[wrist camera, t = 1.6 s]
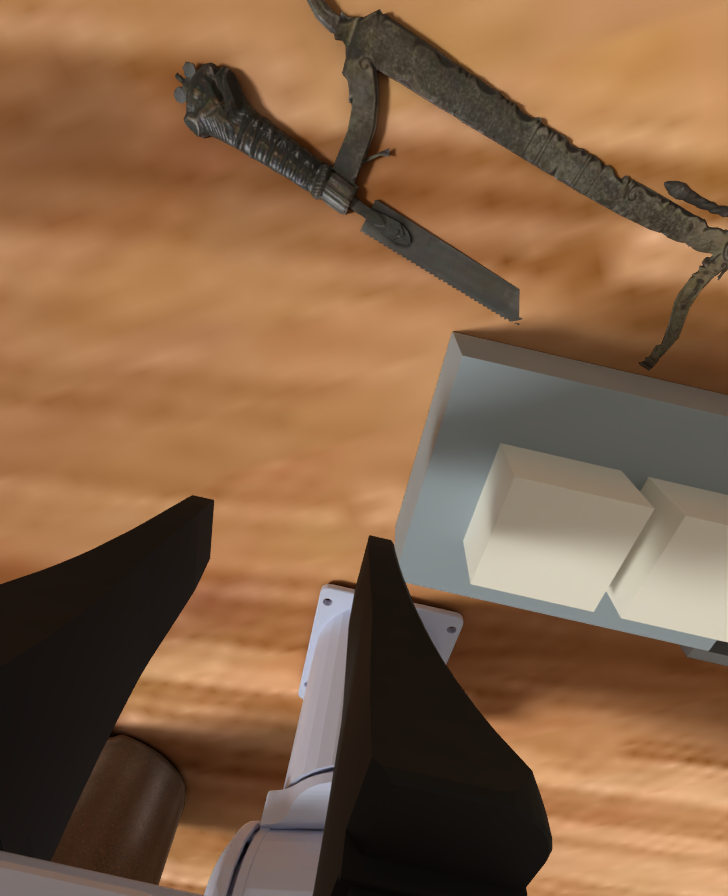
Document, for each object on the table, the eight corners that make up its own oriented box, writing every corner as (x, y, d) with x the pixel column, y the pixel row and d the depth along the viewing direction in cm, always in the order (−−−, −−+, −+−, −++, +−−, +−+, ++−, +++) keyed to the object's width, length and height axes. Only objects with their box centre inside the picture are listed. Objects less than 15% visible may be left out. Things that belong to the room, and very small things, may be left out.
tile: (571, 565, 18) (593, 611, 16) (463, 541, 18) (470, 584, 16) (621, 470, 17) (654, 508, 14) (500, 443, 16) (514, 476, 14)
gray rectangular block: (662, 586, 23) (708, 651, 20) (395, 525, 23) (393, 579, 20) (780, 407, 19) (867, 448, 15) (452, 331, 19) (462, 355, 15)
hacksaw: (175, 120, 17) (155, 111, 16) (290, -274, 13) (276, -335, 11) (679, 430, 20) (698, 444, 19) (905, 199, 16) (952, 196, 15)
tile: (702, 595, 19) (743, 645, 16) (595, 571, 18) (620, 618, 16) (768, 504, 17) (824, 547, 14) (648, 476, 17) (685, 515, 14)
